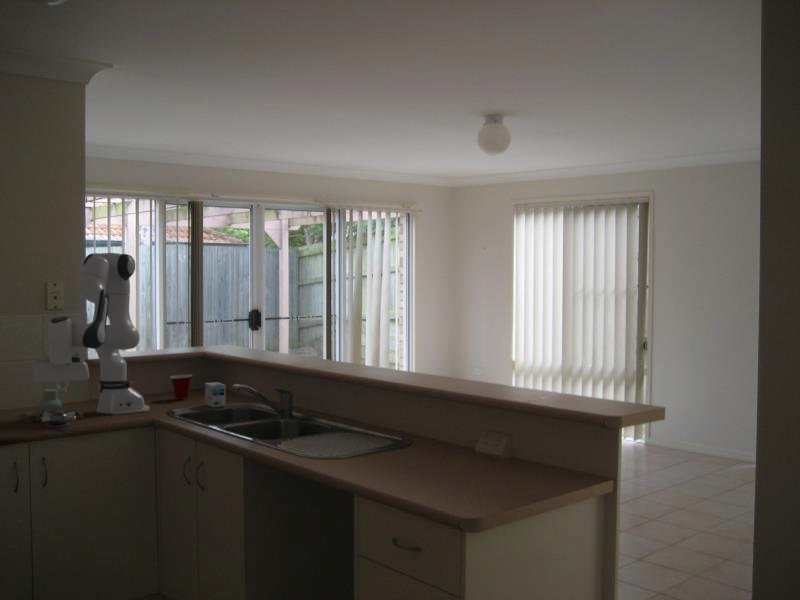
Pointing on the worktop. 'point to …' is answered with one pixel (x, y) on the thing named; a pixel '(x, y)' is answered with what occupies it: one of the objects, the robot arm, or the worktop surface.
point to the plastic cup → (181, 385)
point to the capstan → (57, 417)
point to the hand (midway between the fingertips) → (62, 392)
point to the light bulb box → (215, 394)
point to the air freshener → (50, 401)
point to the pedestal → (58, 425)
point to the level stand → (34, 415)
